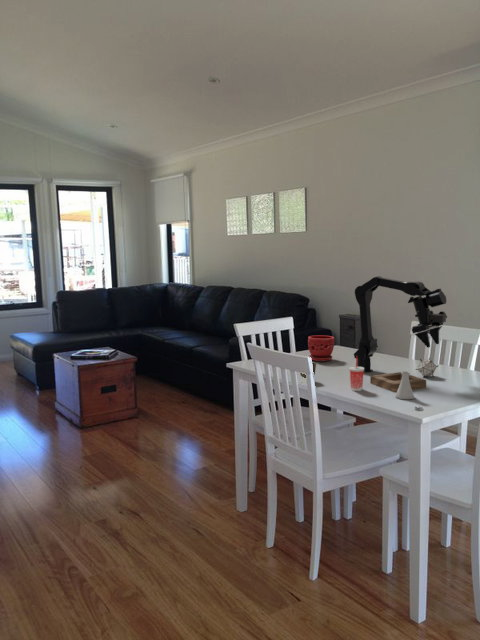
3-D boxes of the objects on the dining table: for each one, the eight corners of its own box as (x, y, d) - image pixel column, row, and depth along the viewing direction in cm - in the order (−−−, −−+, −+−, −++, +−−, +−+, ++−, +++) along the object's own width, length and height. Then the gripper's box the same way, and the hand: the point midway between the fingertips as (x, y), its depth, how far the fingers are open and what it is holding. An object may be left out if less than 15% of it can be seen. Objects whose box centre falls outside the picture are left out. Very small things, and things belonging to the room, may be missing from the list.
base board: (370, 383, 246) (370, 375, 245) (401, 379, 252) (401, 371, 251) (394, 392, 231) (394, 384, 231) (426, 387, 237) (426, 380, 237)
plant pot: (335, 362, 288) (336, 338, 286) (309, 362, 288) (309, 338, 287) (332, 356, 301) (332, 334, 299) (306, 357, 301) (306, 334, 300)
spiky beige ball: (430, 385, 255) (440, 370, 248) (411, 378, 256) (420, 363, 249) (432, 372, 261) (441, 357, 255) (414, 364, 263) (423, 350, 256)
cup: (305, 384, 246) (305, 365, 245) (295, 380, 253) (295, 362, 252) (319, 381, 250) (319, 363, 248) (309, 378, 256) (309, 360, 255)
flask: (392, 395, 227) (393, 370, 225) (410, 394, 227) (411, 369, 226) (399, 400, 220) (399, 374, 218) (417, 399, 220) (418, 374, 219)
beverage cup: (353, 386, 240) (353, 353, 238) (366, 389, 237) (367, 355, 235) (346, 389, 236) (346, 356, 234) (359, 392, 232) (360, 358, 230)
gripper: (431, 307, 234) (442, 344, 233) (449, 303, 248) (459, 338, 247) (406, 314, 242) (417, 350, 241) (425, 310, 256) (435, 344, 254)
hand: (433, 345), depth 245 cm, fingers open, 9 cm apart
